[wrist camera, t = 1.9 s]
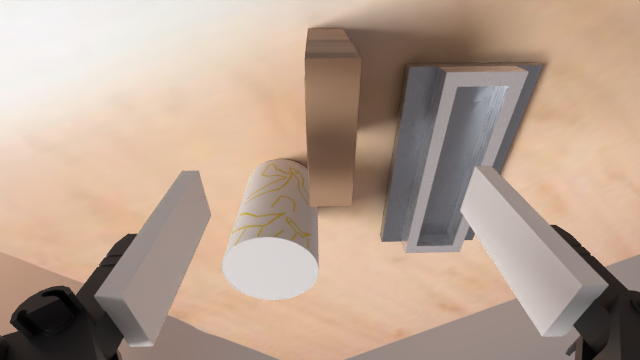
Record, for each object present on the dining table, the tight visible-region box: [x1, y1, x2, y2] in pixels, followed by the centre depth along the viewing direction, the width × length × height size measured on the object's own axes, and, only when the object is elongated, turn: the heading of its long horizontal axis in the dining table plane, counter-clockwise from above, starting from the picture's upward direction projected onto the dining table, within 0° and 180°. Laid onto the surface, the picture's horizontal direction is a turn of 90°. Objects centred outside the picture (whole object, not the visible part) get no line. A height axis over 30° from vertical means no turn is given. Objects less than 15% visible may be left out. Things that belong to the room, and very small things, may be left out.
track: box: [380, 62, 543, 253], centre depth 32 cm, size 22×12×3 cm, turn 0°
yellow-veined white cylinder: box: [222, 159, 319, 300], centre depth 30 cm, size 8×8×12 cm
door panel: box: [305, 28, 362, 207], centre depth 23 cm, size 10×3×12 cm, turn 0°
